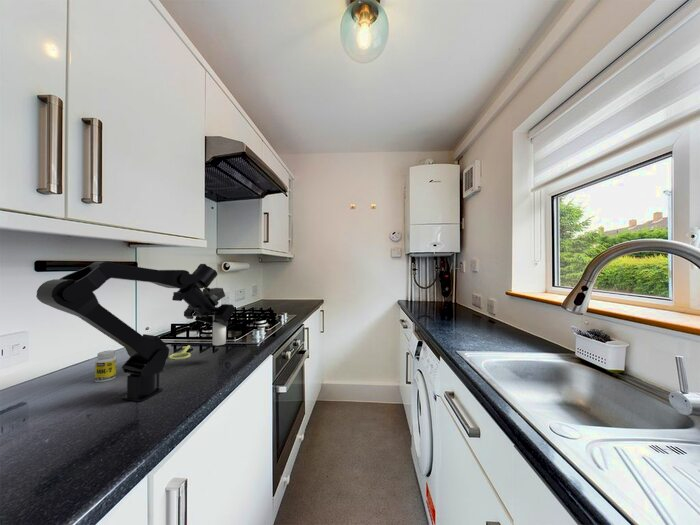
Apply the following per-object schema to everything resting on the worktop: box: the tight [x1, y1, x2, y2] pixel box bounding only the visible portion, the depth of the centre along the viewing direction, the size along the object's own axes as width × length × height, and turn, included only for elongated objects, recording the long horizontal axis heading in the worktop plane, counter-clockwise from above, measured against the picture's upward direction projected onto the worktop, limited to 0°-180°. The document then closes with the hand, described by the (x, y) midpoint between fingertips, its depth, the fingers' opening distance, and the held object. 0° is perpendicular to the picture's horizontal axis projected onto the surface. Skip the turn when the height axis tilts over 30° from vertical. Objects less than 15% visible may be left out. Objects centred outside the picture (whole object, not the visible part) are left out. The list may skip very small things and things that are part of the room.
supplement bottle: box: [94, 349, 117, 383], centre depth 80 cm, size 5×5×8 cm
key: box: [168, 344, 191, 360], centre depth 103 cm, size 7×12×2 cm, turn 33°
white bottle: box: [212, 315, 227, 346], centre depth 94 cm, size 4×4×13 cm
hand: (222, 324), depth 96 cm, fingers closed on white bottle, 4 cm apart
